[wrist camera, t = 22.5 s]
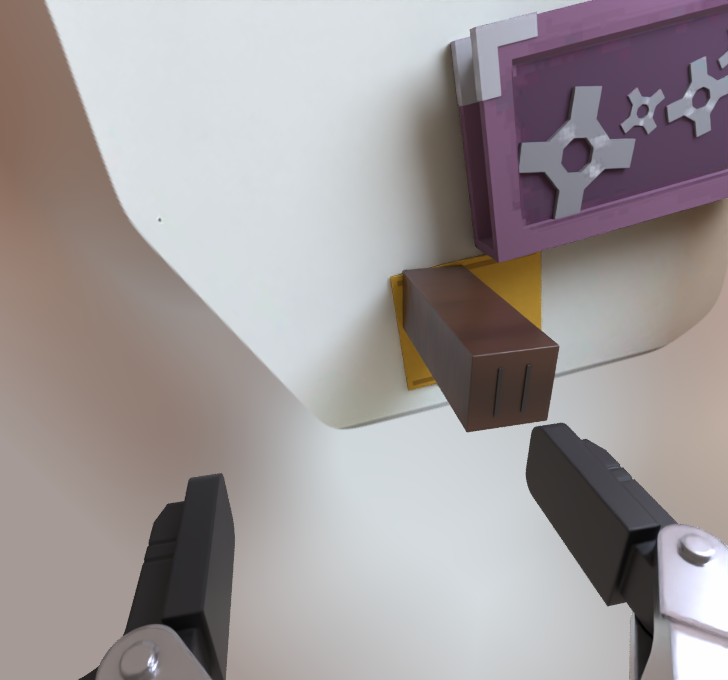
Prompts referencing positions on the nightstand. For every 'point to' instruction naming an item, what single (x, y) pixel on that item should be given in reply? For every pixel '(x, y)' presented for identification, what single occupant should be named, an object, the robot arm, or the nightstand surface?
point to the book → (592, 119)
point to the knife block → (478, 348)
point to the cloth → (506, 278)
